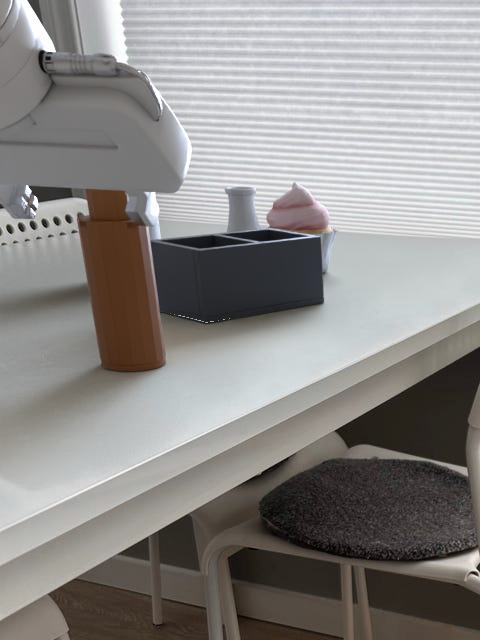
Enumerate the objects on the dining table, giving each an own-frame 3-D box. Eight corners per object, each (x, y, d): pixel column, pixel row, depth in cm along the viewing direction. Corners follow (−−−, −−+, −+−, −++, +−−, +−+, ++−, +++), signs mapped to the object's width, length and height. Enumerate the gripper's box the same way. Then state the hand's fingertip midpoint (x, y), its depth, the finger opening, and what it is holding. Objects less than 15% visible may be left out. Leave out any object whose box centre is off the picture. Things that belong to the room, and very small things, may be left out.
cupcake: (288, 262, 123) (283, 177, 118) (352, 269, 120) (349, 181, 115) (248, 273, 115) (240, 182, 110) (315, 280, 112) (310, 187, 107)
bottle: (89, 363, 77) (53, 157, 70) (142, 353, 81) (113, 156, 73) (125, 375, 75) (92, 162, 67) (178, 363, 78) (152, 160, 71)
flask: (292, 281, 111) (286, 187, 106) (255, 291, 106) (247, 192, 101) (242, 275, 114) (234, 183, 109) (203, 284, 108) (192, 187, 103)
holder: (155, 310, 95) (146, 240, 92) (274, 291, 106) (269, 227, 102) (206, 323, 91) (198, 250, 88) (324, 302, 102) (321, 236, 98)
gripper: (149, 13, 55) (232, 185, 68) (-167, 5, 58) (-28, 172, 71) (124, 102, 53) (213, 260, 67) (-200, 89, 56) (-51, 244, 69)
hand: (87, 215), depth 69 cm, fingers open, 8 cm apart
